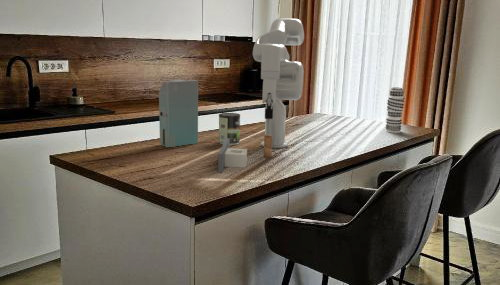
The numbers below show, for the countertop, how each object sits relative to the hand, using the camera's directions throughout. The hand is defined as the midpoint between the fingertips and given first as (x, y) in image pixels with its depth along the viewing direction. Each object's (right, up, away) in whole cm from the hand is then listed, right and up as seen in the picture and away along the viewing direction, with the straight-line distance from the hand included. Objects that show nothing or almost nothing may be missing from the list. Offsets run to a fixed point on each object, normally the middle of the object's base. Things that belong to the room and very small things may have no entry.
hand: (268, 116), depth 191 cm
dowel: (0, -18, +4) cm, 18 cm away
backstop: (-10, -20, -8) cm, 24 cm away
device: (-41, -12, +26) cm, 50 cm away
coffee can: (-18, -11, +32) cm, 38 cm away
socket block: (-13, -19, -8) cm, 25 cm away
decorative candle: (+74, -4, +73) cm, 104 cm away
